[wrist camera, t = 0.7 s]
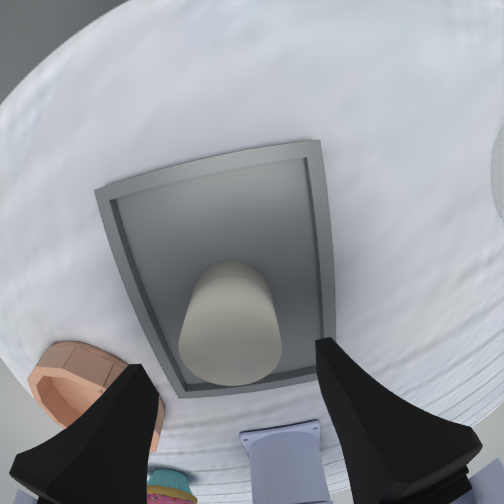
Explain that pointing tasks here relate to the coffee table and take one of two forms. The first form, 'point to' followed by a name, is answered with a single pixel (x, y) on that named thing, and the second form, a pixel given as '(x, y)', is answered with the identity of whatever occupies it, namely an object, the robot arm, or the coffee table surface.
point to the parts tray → (228, 250)
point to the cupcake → (169, 488)
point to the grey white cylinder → (498, 173)
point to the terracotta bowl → (77, 382)
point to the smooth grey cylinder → (230, 326)
